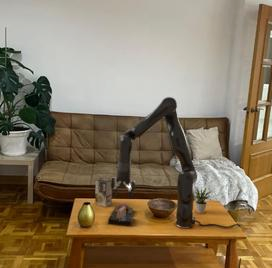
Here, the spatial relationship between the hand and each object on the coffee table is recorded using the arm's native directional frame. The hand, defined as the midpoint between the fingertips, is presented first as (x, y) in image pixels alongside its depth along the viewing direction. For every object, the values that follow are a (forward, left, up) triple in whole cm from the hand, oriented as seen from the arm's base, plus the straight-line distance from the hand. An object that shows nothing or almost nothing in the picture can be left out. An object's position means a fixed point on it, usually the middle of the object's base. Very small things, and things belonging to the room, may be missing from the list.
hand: (122, 196), depth 210 cm
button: (+1, -10, -11) cm, 15 cm away
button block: (+1, -10, -15) cm, 18 cm away
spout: (0, +3, -11) cm, 12 cm away
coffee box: (+16, -21, -15) cm, 30 cm away
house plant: (-47, -23, -15) cm, 55 cm away
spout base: (0, +3, -15) cm, 15 cm away
